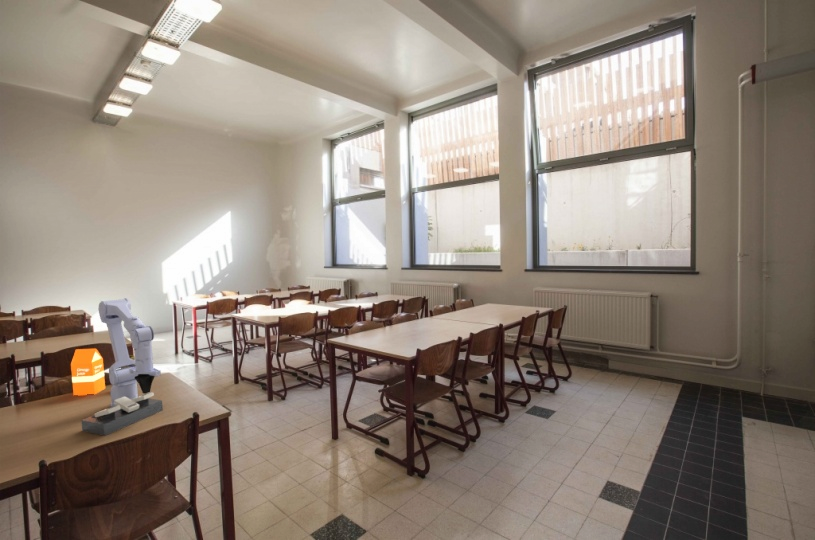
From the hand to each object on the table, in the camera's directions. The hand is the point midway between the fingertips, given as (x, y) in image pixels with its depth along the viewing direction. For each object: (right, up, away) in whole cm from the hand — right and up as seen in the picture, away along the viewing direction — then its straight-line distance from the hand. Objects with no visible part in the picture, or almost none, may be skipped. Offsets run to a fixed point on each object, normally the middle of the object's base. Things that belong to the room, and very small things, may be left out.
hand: (146, 392), depth 156 cm
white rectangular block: (-2, -3, +1) cm, 4 cm away
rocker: (-7, -4, -11) cm, 14 cm away
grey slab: (-5, -9, -2) cm, 10 cm away
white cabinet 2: (-4, -4, -5) cm, 8 cm away
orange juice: (-43, -8, +27) cm, 51 cm away
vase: (-29, -7, +32) cm, 43 cm away
